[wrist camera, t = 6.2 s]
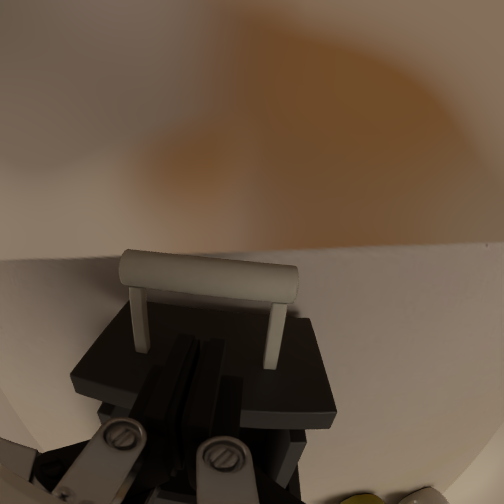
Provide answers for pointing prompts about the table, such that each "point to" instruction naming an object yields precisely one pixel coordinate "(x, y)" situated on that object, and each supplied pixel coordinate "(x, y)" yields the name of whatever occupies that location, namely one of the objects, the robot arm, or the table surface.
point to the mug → (425, 497)
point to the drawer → (236, 355)
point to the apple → (363, 499)
